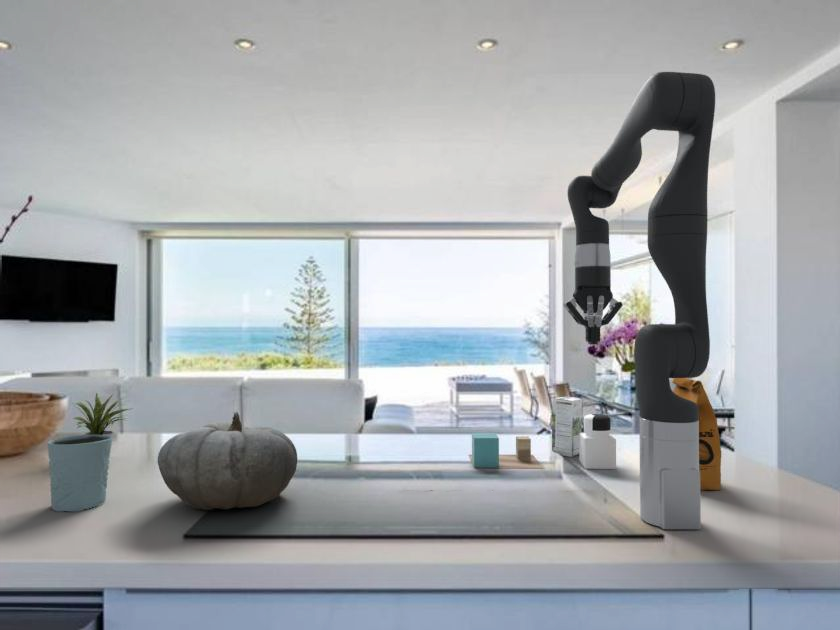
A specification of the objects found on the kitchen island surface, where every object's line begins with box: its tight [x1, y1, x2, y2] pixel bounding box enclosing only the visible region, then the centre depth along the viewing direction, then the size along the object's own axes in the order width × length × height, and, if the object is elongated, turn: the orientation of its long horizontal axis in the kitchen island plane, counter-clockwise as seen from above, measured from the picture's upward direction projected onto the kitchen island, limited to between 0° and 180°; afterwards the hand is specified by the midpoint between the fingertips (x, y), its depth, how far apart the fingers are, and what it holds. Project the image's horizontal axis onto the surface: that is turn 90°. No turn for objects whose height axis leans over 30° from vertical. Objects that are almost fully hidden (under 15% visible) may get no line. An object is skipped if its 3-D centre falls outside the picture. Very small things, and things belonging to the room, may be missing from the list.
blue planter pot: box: [47, 434, 113, 512], centre depth 104 cm, size 10×10×12 cm
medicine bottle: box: [578, 413, 617, 470], centre depth 133 cm, size 7×7×12 cm
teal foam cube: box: [471, 432, 500, 467], centre depth 130 cm, size 6×6×7 cm
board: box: [468, 435, 546, 470], centre depth 133 cm, size 14×16×6 cm
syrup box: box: [551, 396, 583, 458], centre depth 145 cm, size 6×6×14 cm
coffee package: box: [672, 378, 722, 491], centre depth 118 cm, size 10×12×22 cm
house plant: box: [70, 392, 134, 447], centre depth 139 cm, size 14×14×16 cm
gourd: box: [157, 411, 298, 511], centre depth 106 cm, size 25×25×17 cm
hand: (593, 344), depth 124 cm, fingers closed
